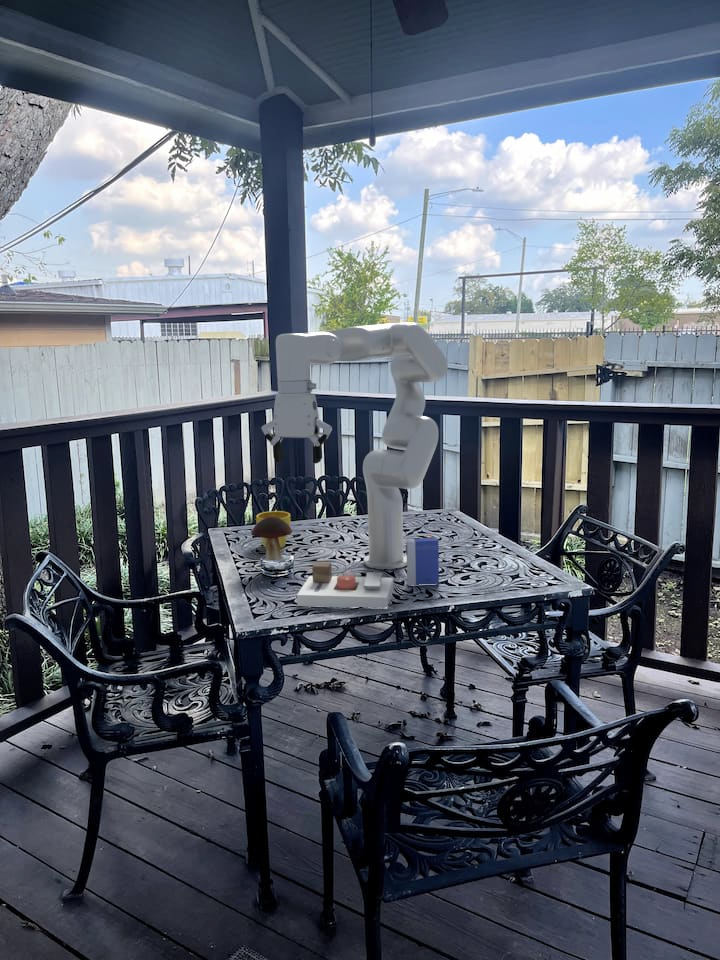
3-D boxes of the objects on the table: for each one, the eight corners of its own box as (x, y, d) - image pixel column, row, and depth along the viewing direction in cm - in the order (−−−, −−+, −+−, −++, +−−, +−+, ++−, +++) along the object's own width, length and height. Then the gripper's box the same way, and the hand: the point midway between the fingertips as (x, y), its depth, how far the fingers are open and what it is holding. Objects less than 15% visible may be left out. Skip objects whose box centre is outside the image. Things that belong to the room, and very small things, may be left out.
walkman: (436, 581, 166) (436, 535, 164) (438, 585, 163) (438, 539, 161) (405, 583, 165) (405, 537, 163) (407, 587, 163) (407, 540, 160)
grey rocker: (367, 575, 158) (367, 572, 158) (382, 575, 157) (382, 572, 157) (364, 588, 153) (363, 585, 152) (379, 589, 152) (379, 586, 152)
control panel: (310, 587, 165) (309, 572, 164) (393, 589, 161) (393, 574, 161) (297, 607, 152) (296, 591, 151) (387, 609, 149) (387, 593, 148)
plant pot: (294, 540, 205) (293, 510, 203) (288, 550, 195) (286, 519, 193) (262, 540, 206) (260, 510, 204) (254, 550, 196) (252, 519, 194)
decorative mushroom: (302, 568, 179) (299, 515, 176) (271, 579, 171) (268, 524, 168) (275, 560, 186) (272, 509, 183) (245, 571, 178) (241, 518, 175)
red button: (339, 586, 159) (338, 574, 158) (357, 586, 158) (356, 575, 158) (335, 593, 155) (335, 581, 154) (354, 593, 154) (353, 581, 153)
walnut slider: (315, 577, 162) (315, 561, 161) (331, 577, 161) (331, 562, 161) (313, 581, 159) (312, 566, 158) (329, 582, 158) (328, 566, 157)
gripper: (335, 387, 151) (337, 460, 155) (267, 387, 156) (271, 458, 160) (324, 389, 144) (327, 465, 148) (252, 389, 149) (257, 463, 153)
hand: (297, 461), depth 154 cm, fingers open, 9 cm apart
